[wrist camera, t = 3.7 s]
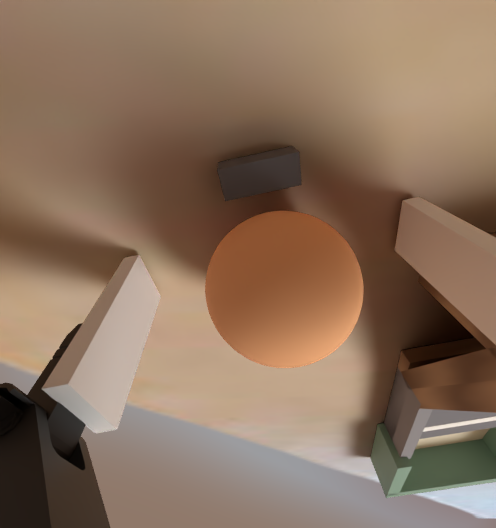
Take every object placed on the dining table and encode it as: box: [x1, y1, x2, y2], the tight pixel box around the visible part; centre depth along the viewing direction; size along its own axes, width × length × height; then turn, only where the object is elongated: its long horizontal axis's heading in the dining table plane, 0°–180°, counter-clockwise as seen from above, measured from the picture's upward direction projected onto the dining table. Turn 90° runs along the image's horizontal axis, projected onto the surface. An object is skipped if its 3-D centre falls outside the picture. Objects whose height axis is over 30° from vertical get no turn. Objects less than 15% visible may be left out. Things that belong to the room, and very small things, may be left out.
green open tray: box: [371, 423, 496, 498], centre depth 25 cm, size 9×13×4 cm, turn 101°
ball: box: [205, 211, 363, 368], centre depth 10 cm, size 6×6×6 cm
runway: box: [384, 367, 496, 459], centre depth 21 cm, size 10×12×3 cm
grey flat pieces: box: [217, 146, 302, 201], centre depth 12 cm, size 9×3×1 cm, turn 11°
